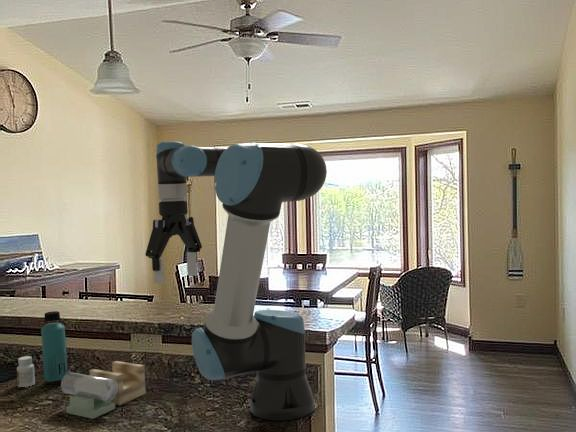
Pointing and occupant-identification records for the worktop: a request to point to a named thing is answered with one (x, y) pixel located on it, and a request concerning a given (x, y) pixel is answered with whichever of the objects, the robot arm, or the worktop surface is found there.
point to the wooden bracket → (125, 380)
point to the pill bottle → (25, 372)
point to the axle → (89, 386)
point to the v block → (88, 406)
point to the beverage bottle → (54, 348)
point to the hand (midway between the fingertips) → (176, 279)
